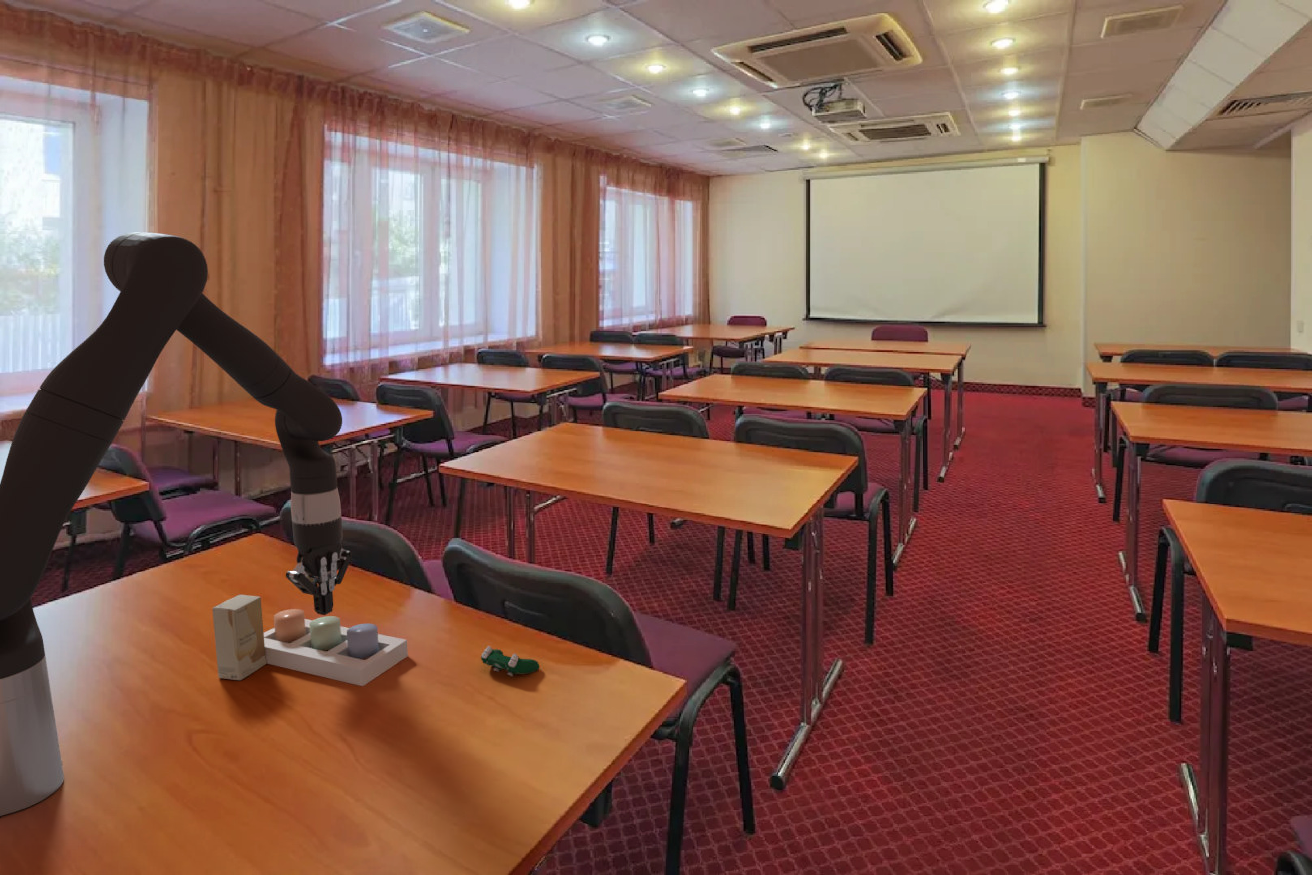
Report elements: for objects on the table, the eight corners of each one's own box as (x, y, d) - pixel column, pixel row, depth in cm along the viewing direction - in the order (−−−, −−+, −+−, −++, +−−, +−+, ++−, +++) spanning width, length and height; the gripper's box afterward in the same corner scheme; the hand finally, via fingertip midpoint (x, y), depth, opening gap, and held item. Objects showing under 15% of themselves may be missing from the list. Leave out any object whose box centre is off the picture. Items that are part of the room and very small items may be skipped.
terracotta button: (290, 644, 128) (288, 622, 128) (269, 639, 130) (267, 617, 129) (312, 632, 133) (310, 611, 132) (291, 628, 134) (289, 607, 134)
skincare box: (240, 681, 121) (233, 610, 118) (217, 678, 122) (209, 608, 119) (268, 663, 127) (262, 595, 125) (246, 660, 128) (239, 592, 125)
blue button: (365, 660, 123) (363, 638, 122) (341, 655, 125) (340, 633, 124) (385, 648, 127) (383, 626, 127) (362, 643, 129) (361, 621, 128)
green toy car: (490, 672, 129) (472, 660, 124) (499, 651, 130) (482, 638, 126) (533, 685, 124) (516, 673, 120) (542, 663, 126) (526, 651, 122)
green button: (326, 652, 126) (325, 630, 125) (304, 647, 127) (302, 625, 126) (347, 640, 130) (346, 618, 129) (326, 635, 132) (324, 614, 131)
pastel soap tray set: (362, 686, 120) (361, 668, 119) (246, 658, 128) (244, 642, 128) (407, 655, 130) (406, 639, 129) (297, 632, 138) (295, 616, 138)
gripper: (302, 529, 117) (311, 632, 120) (363, 507, 129) (369, 601, 132) (266, 524, 119) (276, 625, 123) (328, 502, 132) (336, 595, 135)
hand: (324, 612), depth 128 cm, fingers closed
